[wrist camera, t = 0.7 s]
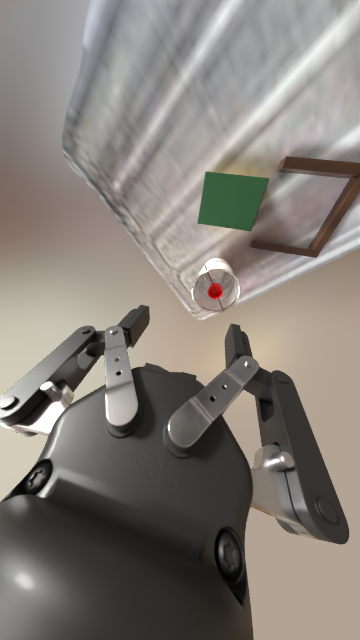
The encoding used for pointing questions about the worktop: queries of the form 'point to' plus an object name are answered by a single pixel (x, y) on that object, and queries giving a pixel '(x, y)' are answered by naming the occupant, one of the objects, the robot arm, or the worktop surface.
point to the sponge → (231, 200)
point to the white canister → (216, 287)
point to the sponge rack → (355, 185)
